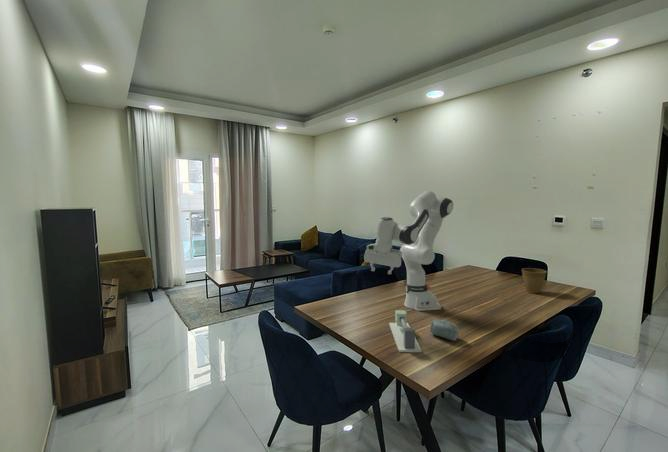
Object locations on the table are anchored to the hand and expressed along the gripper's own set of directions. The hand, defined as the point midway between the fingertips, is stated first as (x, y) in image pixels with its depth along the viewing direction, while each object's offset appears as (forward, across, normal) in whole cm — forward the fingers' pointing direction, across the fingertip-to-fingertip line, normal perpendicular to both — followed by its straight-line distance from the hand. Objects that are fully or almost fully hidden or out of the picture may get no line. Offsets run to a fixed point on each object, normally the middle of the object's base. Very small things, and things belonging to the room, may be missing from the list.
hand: (381, 272), depth 171 cm
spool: (+26, -36, +2) cm, 45 cm away
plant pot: (+20, -82, -100) cm, 131 cm away
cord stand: (+27, -18, +11) cm, 35 cm away
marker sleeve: (+23, -14, +4) cm, 28 cm away
